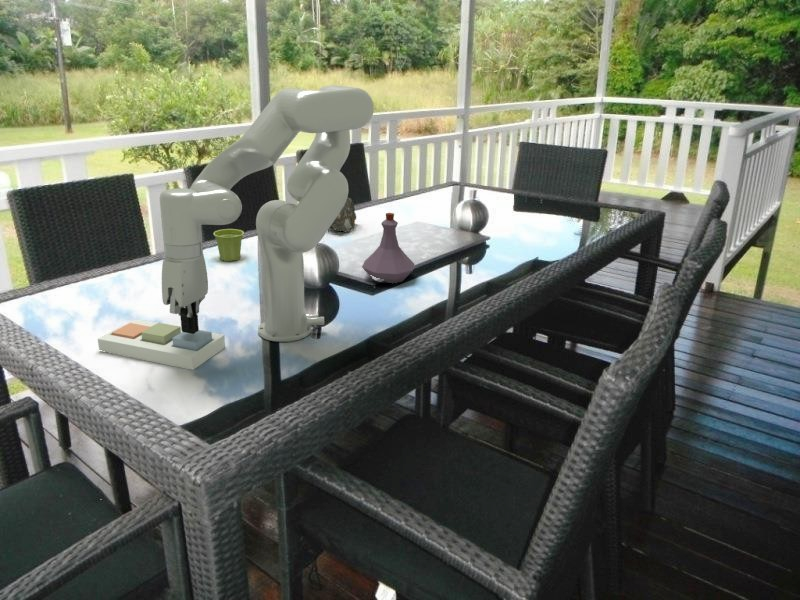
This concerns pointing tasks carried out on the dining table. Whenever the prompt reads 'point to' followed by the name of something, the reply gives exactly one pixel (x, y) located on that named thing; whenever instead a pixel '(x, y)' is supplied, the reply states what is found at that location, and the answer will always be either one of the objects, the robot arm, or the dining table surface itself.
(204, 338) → the slate blue key
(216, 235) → the plant pot
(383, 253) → the flask
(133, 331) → the terracotta key
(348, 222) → the rock
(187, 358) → the keypad
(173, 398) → the dining table surface
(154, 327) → the olive key
